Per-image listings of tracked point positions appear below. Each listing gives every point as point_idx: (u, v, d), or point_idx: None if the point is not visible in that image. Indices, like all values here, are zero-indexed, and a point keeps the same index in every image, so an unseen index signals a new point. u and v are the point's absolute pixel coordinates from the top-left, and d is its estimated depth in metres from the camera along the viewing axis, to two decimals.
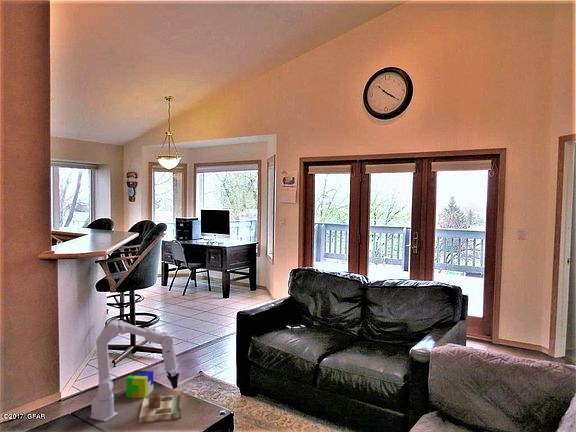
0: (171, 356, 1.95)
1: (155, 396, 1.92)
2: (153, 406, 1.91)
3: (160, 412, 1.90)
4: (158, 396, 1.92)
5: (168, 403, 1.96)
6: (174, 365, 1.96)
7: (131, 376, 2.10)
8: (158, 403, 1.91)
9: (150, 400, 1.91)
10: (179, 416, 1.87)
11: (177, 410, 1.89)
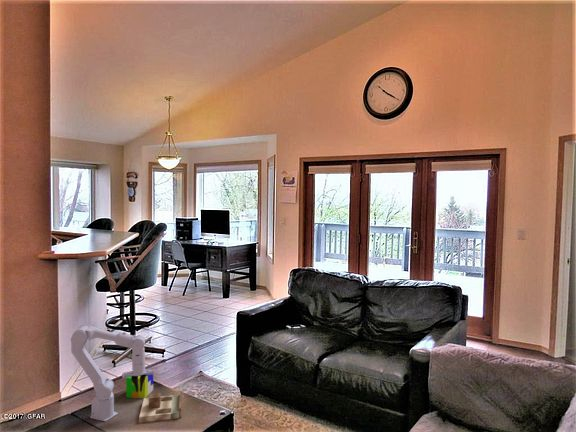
0: (140, 361, 1.89)
1: (155, 396, 1.92)
2: (153, 406, 1.91)
3: (160, 412, 1.90)
4: (158, 396, 1.92)
5: (168, 403, 1.96)
6: None
7: None
8: (158, 403, 1.91)
9: (150, 400, 1.91)
10: (179, 416, 1.87)
11: (177, 410, 1.89)
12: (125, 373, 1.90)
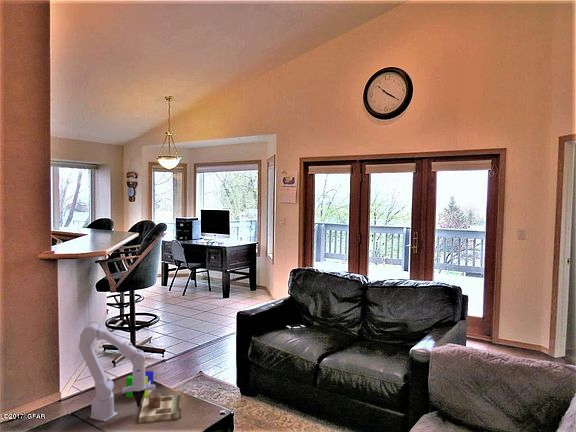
0: (140, 376, 1.89)
1: (155, 396, 1.92)
2: (153, 406, 1.91)
3: (160, 412, 1.90)
4: (158, 396, 1.92)
5: (168, 403, 1.96)
6: None
7: (131, 376, 2.10)
8: (158, 403, 1.91)
9: (150, 400, 1.91)
10: (179, 416, 1.87)
11: (177, 410, 1.89)
12: (125, 388, 1.90)
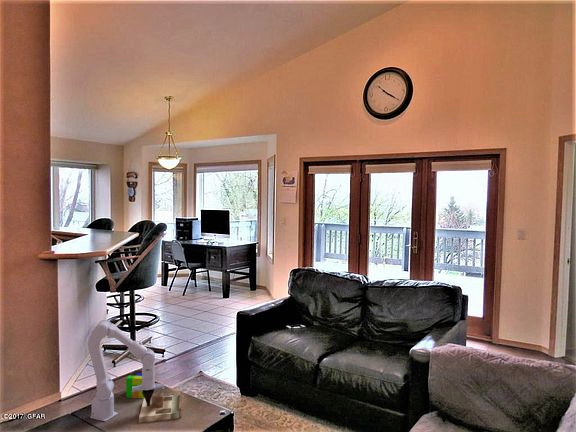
0: (150, 375, 1.90)
1: (158, 396, 1.93)
2: (156, 406, 1.91)
3: (160, 412, 1.90)
4: (161, 396, 1.93)
5: (168, 403, 1.96)
6: None
7: (131, 376, 2.10)
8: (161, 403, 1.92)
9: (153, 400, 1.91)
10: (179, 416, 1.87)
11: (177, 410, 1.89)
12: (135, 387, 1.91)
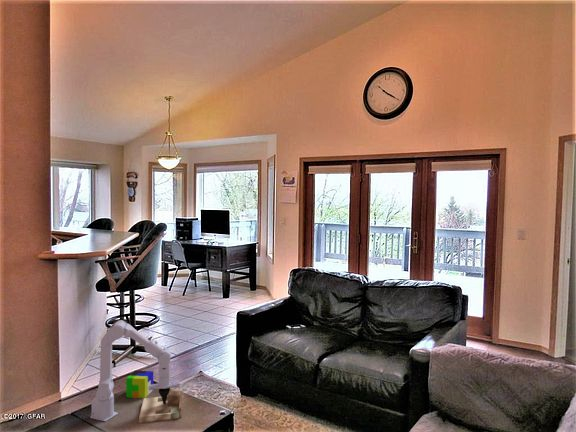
0: (166, 374, 1.92)
1: (174, 394, 1.94)
2: (172, 404, 1.93)
3: (160, 412, 1.90)
4: (177, 394, 1.94)
5: None
6: None
7: (131, 376, 2.10)
8: (177, 401, 1.93)
9: (169, 398, 1.93)
10: (179, 416, 1.87)
11: (177, 410, 1.89)
12: (151, 386, 1.93)
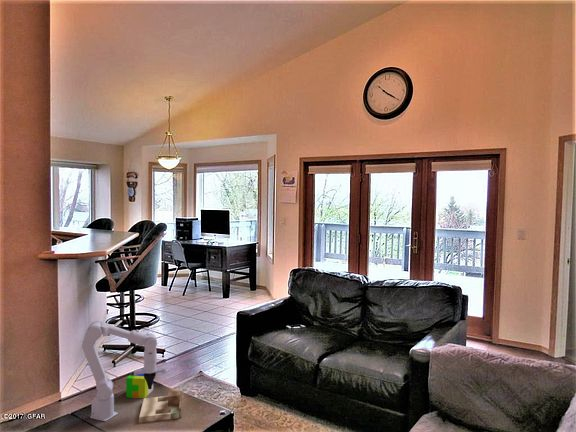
0: (152, 358, 1.93)
1: (174, 394, 1.94)
2: (172, 404, 1.93)
3: (160, 412, 1.90)
4: (177, 394, 1.94)
5: None
6: None
7: (131, 376, 2.10)
8: (177, 401, 1.93)
9: (169, 398, 1.93)
10: (179, 416, 1.87)
11: (177, 410, 1.89)
12: (137, 370, 1.93)
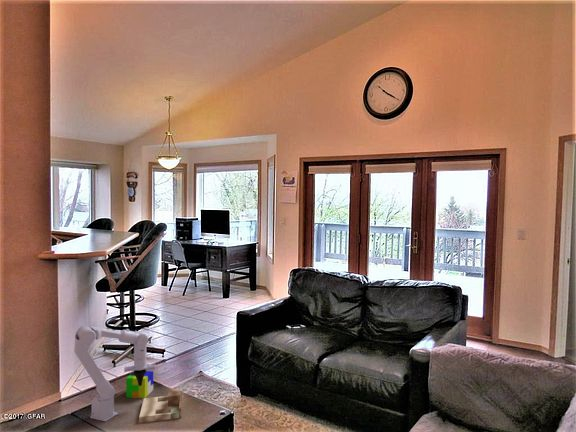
0: (144, 355, 1.97)
1: (174, 394, 1.94)
2: (172, 404, 1.93)
3: (160, 412, 1.90)
4: (177, 394, 1.94)
5: None
6: None
7: (131, 376, 2.10)
8: (177, 401, 1.93)
9: (169, 398, 1.93)
10: (179, 416, 1.87)
11: (177, 410, 1.89)
12: (127, 367, 1.97)
